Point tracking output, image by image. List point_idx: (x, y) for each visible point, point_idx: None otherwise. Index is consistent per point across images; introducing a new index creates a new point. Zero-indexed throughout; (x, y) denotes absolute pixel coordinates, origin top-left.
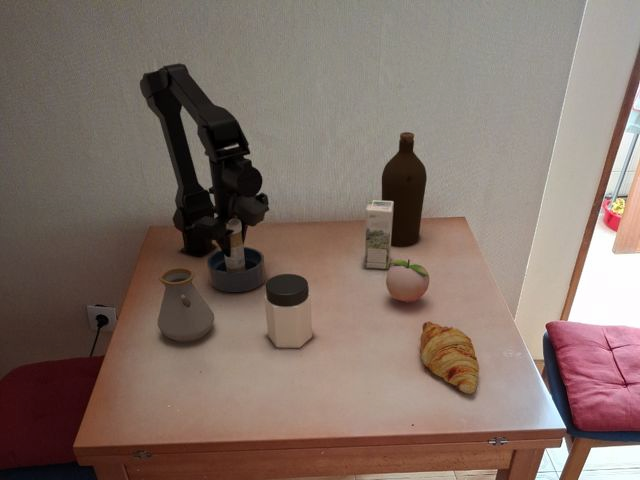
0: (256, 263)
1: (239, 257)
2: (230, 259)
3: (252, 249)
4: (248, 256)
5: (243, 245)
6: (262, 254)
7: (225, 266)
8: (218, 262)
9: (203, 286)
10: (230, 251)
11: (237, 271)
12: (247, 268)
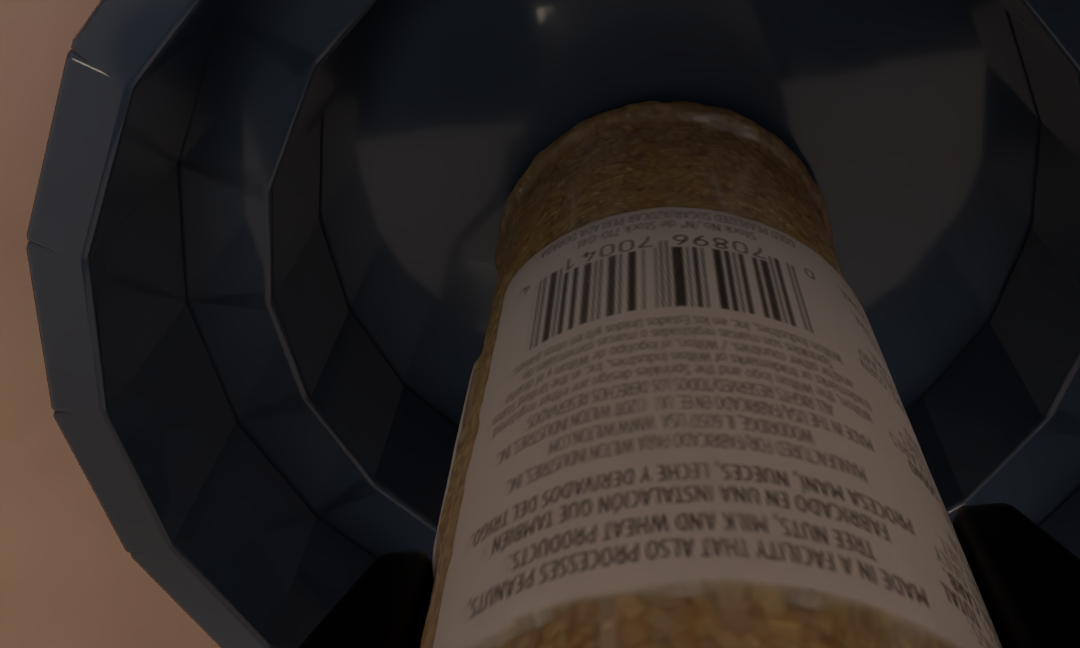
0: (266, 159)
1: (757, 346)
2: (924, 460)
3: (113, 444)
4: (226, 423)
5: (349, 591)
6: (61, 118)
7: None
8: None
9: None
10: (1047, 609)
11: (788, 212)
12: (348, 301)
